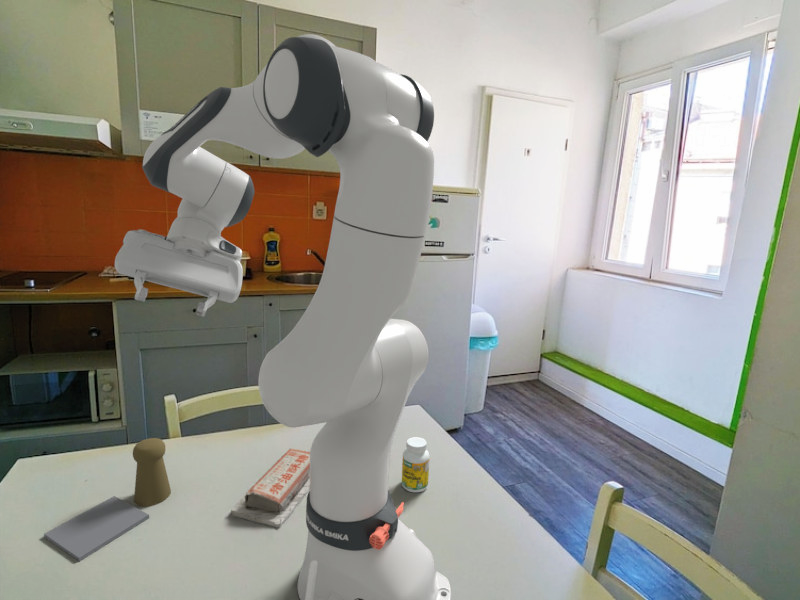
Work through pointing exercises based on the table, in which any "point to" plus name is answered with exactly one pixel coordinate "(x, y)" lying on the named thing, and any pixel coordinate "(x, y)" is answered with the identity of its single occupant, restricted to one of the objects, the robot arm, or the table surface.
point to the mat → (96, 527)
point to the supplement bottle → (415, 465)
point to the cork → (150, 473)
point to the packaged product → (277, 490)
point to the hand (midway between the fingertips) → (170, 306)
